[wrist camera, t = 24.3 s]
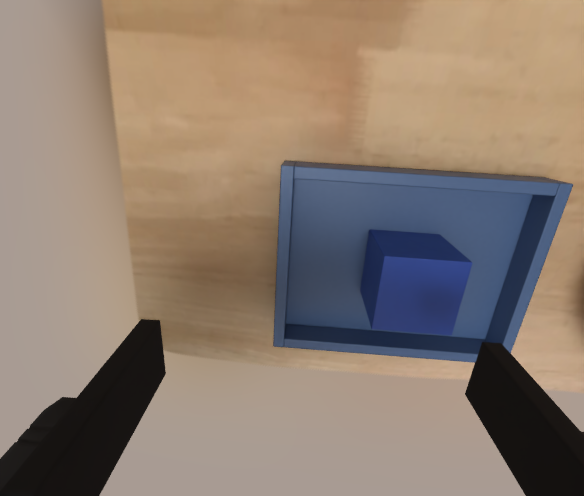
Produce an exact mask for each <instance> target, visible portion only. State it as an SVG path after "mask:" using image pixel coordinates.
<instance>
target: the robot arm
mask: <svg viewBox="0 0 584 496" xmlns="http://www.w3.org/2000/svg"><path fill="white" fill-rule="evenodd" d="M165 373H166V372H165V363H164V354H163V344H162V335H161V326H160V320H145V319H141V320H140V321H139V323H138V324H137V325H136V326H135V328H134V329H133V330H132V331H131V332H130V334H129V335H128V336H127V337H126V338H125V340H124V341H123V342H122V343H121V345H120V346H119V347H118V348H117V349H116V351H115V352H114V353H113V354H112V356H111V357H110V358H109V359H108V360H107V362H106V363H105V364H104V365H103V367H102V368H101V369H100V370H99V371H98V373H97V374H96V375H95V376H94V378H93V379H92V380H91V381H90V382H89V384H88V385H87V386H86V387H85V388H84V390H83V391H82V392H81V393H80V395H79V396H78V397H77V398H68V397H67V398H66V397H62V398H61V399H60V400H58V401H56V402H55V403H54V404H52V405H51V406H49V407H48V408H46V409H45V410H44V411H43V412H42V413H41V414H40V415H39V416H38V418H37V419H36V420H35V421H34V422H33V423H32V424H31V425H30V428H29V429H27V430H26V431H25V432H24V433H23V434H22V435H21V436H20V437H19V439H18V441H17V442H15V443H14V444H13V445H12V446H11V447H10V449H9V450H8V451H7V452H6V453H5V454H4V455H3V456H2V457H1V459H0V496H99V495H100V493H101V491H102V490H103V488H104V486H105V484H106V482H107V480H108V478H109V477H110V475H111V473H112V471H113V469H114V467H115V466H116V464H117V462H118V460H119V458H120V456H121V455H122V453H123V451H124V449H125V447H126V446H127V444H128V442H129V440H130V438H131V436H132V435H133V433H134V431H135V429H136V427H137V425H138V424H139V422H140V420H141V418H142V416H143V414H144V412H145V411H146V409H147V407H148V405H149V403H150V401H151V400H152V398H153V396H154V394H155V392H156V390H157V389H158V387H159V385H160V383H161V381H162V379H163V377H164V376H165ZM465 395H466V396H467V398H468V400H469V402H470V403H471V405H472V406H473V408H474V410H475V411H476V413H477V415H478V417H479V418H480V420H481V422H482V423H483V425H484V427H485V428H486V430H487V432H488V433H489V435H490V437H491V438H492V440H493V441H494V443H495V445H496V447H497V448H498V450H499V452H500V453H501V455H502V457H503V458H504V460H505V462H506V463H507V465H508V467H509V468H510V470H511V472H512V473H513V475H514V477H515V478H516V480H517V482H518V483H519V485H520V487H521V488H522V490H523V492H524V494H525V495H526V496H584V432H581V431H579V429H578V428H577V427H576V426H575V425H574V424H573V423H572V422H571V420H570V419H569V418H568V417H567V416H566V415H565V414H564V413H563V412H562V410H561V409H560V408H559V407H558V406H557V405H556V404H555V403H554V401H553V400H552V399H551V398H550V397H549V396H548V395H547V394H546V393H545V391H544V390H543V389H542V388H541V387H540V386H539V385H538V384H537V383H536V381H535V380H534V379H533V378H532V377H531V376H530V375H529V374H528V373H527V371H526V370H525V369H524V368H523V367H522V366H521V365H520V364H519V363H518V361H517V360H516V359H515V358H514V357H513V356H512V355H511V354H510V353H509V351H508V350H507V349H506V348H505V347H504V346H503V345H502V344H501V343H490V342H482V344H481V347H480V350H479V353H478V356H477V359H476V362H475V365H474V368H473V371H472V374H471V378H470V381H469V384H468V387H467V390H466V393H465Z"/></svg>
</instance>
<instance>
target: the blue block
mask: <svg viewBox="0 0 584 496" xmlns="http://www.w3.org/2000/svg"><path fill="white" fill-rule="evenodd" d="M471 267H472V262H471V261H470V260H469V259H468V258H467V257H466V256H464V255H463V254H462V253H461V252H460V251H459V250H457V249H456V248H455V247H454V246H453V245H452V244H450V243H449V242H448V241H447V240H446V239H445V238H443V237H442V236H441V235H440V234H428V233H414V232H400V231H386V230H372V229H370V230H369V236H368V242H367V249H366V255H365V262H364V268H363V275H362V281H361V288H360V292H361V295H362V299H363V302H364V305H365V309H366V312H367V315H368V319H369V322H370V325H371V329H377V330H389V331H402V332H414V333H427V334H439V335H452V333H453V329H454V326H455V322H456V319H457V315H458V312H459V309H460V305H461V302H462V298H463V295H464V291H465V288H466V284H467V281H468V277H469V274H470V270H471Z"/></svg>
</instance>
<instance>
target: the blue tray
mask: <svg viewBox="0 0 584 496" xmlns="http://www.w3.org/2000/svg"><path fill="white" fill-rule="evenodd" d="M572 187H573V184H571V183H566V182H562V181H558V180H553V179H549V178H545V177H530V176H515V175H499V174H484V173H468V172H453V171H437V170H421V169H406V168H390V167H375V166H359V165H344V164H328V163H312V162H297V161H284V162H283V164H282V165H281V181H280V204H279V227H278V250H277V273H276V296H275V319H274V342H273V346H274V347H288V348H301V349H313V350H326V351H338V352H351V353H363V354H376V355H388V356H401V357H413V358H426V359H438V360H451V361H463V362H476V359H477V356H478V353H479V350H480V347H481V344H482V342H490V343H501V344H502V345H503V346H504V347H505V348H506V349H507V350H508V351H509V353H511V350H512V348H513V345H514V342H515V340H516V337H517V334H518V332H519V329H520V326H521V324H522V321H523V318H524V316H525V313H526V310H527V307H528V305H529V302H530V299H531V297H532V294H533V291H534V289H535V286H536V283H537V281H538V278H539V275H540V273H541V270H542V267H543V265H544V262H545V259H546V256H547V254H548V251H549V248H550V246H551V243H552V240H553V238H554V235H555V232H556V230H557V227H558V224H559V222H560V219H561V216H562V213H563V211H564V208H565V205H566V203H567V200H568V197H569V195H570V192H571V189H572ZM370 229H372V230H386V231H400V232H414V233H428V234H440V235H441V236H442V237H443V238H445V239H446V240H447V241H448V242H449V243H450V244H452V245H453V246H454V247H455V248H456V249H457V250H459V251H460V252H461V253H462V254H463V255H464V256H466V257H467V258H468V259H469V260H470V261H471V262H472V267H471V270H470V274H469V277H468V281H467V284H466V288H465V291H464V295H463V298H462V302H461V305H460V309H459V312H458V315H457V319H456V322H455V326H454V329H453V333H452V335H439V334H427V333H414V332H402V331H389V330H377V329H371V325H370V322H369V319H368V315H367V312H366V309H365V305H364V302H363V299H362V295H361V292H360V288H361V281H362V275H363V268H364V262H365V255H366V249H367V242H368V236H369V230H370Z"/></svg>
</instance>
